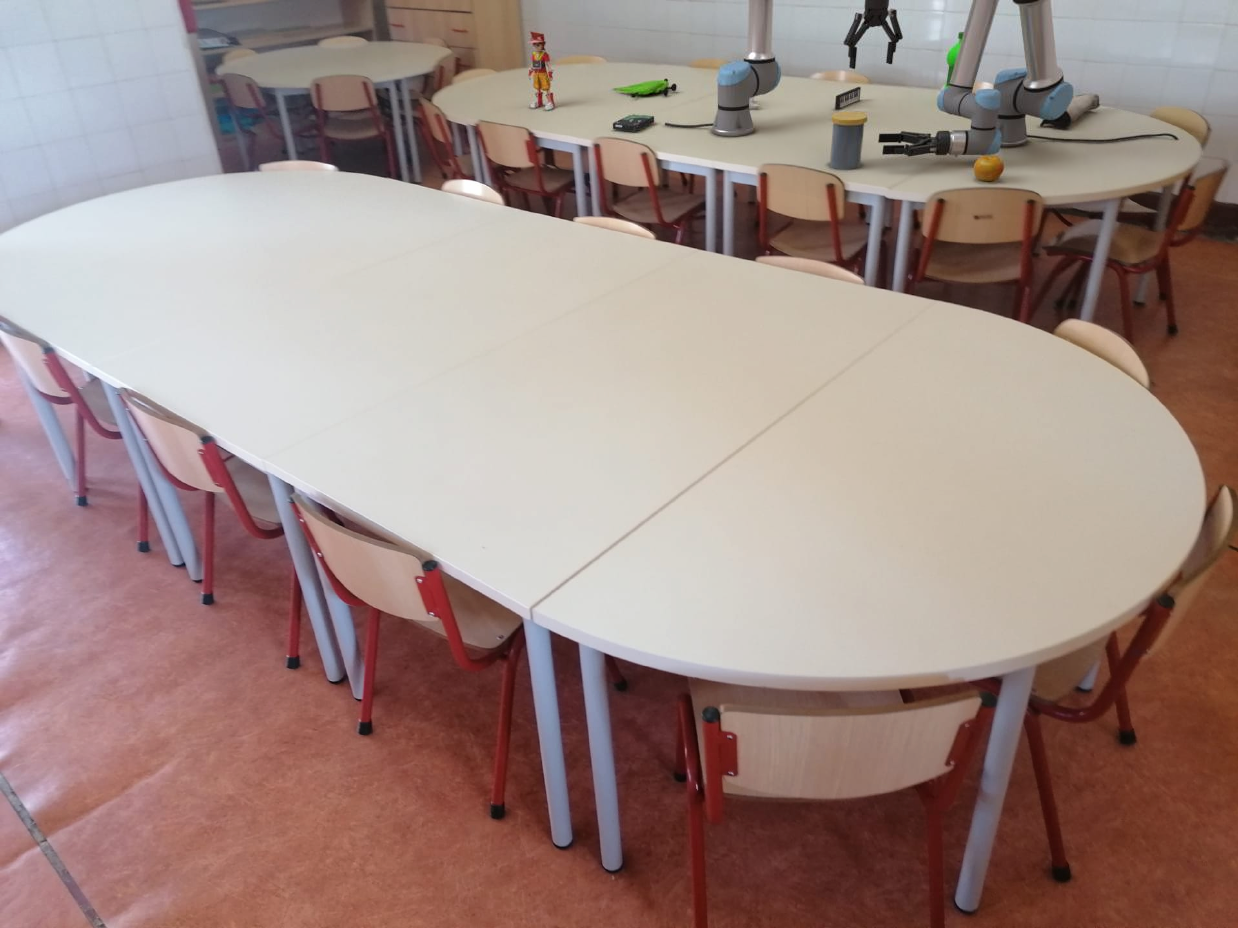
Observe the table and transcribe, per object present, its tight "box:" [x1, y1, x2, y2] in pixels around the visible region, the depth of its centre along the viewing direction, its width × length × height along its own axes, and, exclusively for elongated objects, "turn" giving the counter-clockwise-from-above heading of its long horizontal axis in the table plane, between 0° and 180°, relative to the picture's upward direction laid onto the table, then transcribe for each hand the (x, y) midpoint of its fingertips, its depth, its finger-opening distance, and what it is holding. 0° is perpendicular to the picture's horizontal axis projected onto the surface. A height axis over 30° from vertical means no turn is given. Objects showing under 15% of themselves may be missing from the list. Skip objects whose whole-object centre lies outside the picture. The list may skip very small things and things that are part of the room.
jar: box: [829, 123, 865, 170], centre depth 292 cm, size 10×10×15 cm
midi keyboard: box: [834, 86, 862, 110], centre depth 359 cm, size 18×1×5 cm, turn 138°
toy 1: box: [527, 31, 556, 111], centre depth 374 cm, size 12×9×30 cm
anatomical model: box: [749, 97, 760, 109], centre depth 364 cm, size 15×10×10 cm
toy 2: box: [612, 78, 677, 99], centre depth 396 cm, size 28×5×30 cm
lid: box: [830, 110, 868, 126], centre depth 288 cm, size 11×11×2 cm
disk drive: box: [612, 114, 655, 133], centre depth 348 cm, size 10×3×15 cm
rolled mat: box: [1039, 93, 1101, 130], centre depth 325 cm, size 30×9×10 cm
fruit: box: [973, 154, 1005, 182], centre depth 274 cm, size 8×8×8 cm
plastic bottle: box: [943, 31, 964, 89], centre depth 348 cm, size 10×10×25 cm
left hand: (870, 66), depth 298 cm, fingers open, 13 cm apart
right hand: (880, 144), depth 290 cm, fingers open, 13 cm apart
